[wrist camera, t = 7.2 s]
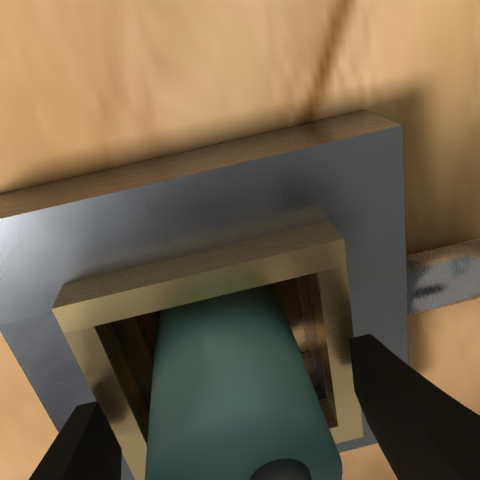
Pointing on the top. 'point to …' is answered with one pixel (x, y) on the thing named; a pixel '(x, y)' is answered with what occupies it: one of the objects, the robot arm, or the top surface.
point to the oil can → (234, 395)
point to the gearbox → (219, 264)
